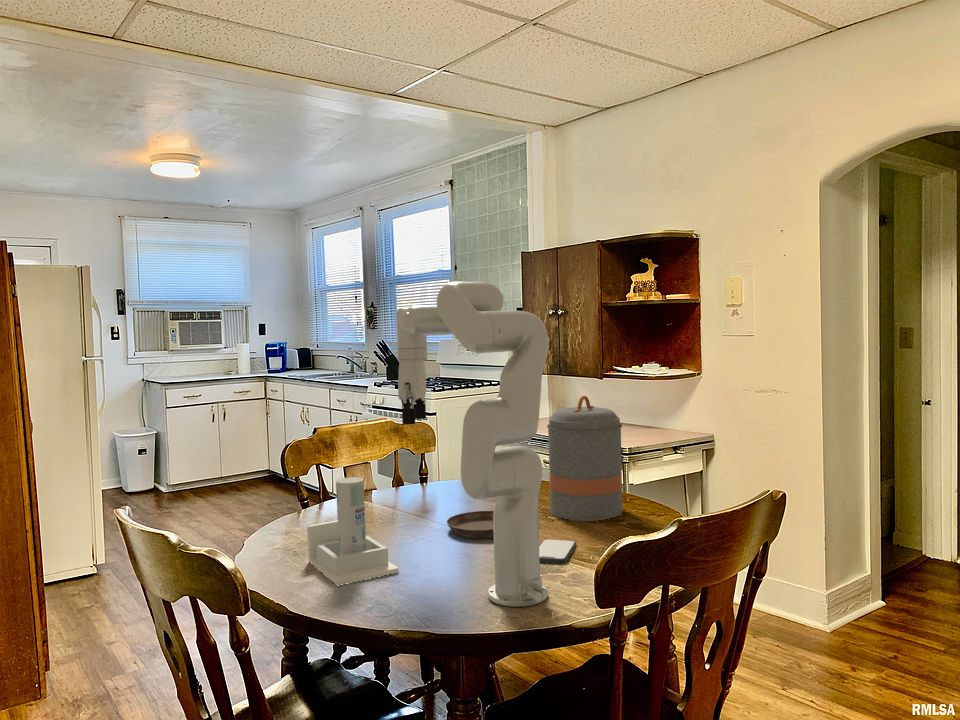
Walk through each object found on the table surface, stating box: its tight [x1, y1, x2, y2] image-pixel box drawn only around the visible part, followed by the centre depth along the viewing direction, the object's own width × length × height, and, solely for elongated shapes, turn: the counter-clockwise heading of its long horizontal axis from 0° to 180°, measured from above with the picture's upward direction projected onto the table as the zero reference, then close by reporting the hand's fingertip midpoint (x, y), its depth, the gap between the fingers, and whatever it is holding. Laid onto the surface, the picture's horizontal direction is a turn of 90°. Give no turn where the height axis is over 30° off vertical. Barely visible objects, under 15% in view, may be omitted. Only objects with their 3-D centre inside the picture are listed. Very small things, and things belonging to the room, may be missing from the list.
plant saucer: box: [446, 510, 494, 539], centre depth 203 cm, size 21×21×3 cm
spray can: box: [335, 476, 366, 556], centre depth 174 cm, size 6×6×20 cm
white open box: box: [306, 516, 400, 586], centre depth 174 cm, size 20×15×9 cm
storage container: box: [546, 395, 624, 522], centre depth 219 cm, size 22×22×35 cm
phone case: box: [539, 539, 577, 565], centre depth 181 cm, size 9×2×16 cm
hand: (414, 421), depth 188 cm, fingers open, 9 cm apart
